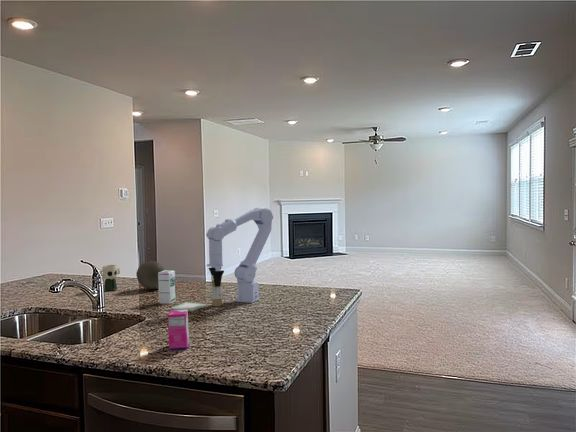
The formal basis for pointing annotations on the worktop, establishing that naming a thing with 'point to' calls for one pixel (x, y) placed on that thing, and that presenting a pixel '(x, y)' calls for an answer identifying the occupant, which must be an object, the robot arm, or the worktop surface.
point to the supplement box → (178, 329)
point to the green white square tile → (188, 306)
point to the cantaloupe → (149, 274)
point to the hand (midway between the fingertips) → (216, 284)
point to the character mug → (110, 276)
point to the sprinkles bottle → (216, 294)
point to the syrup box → (167, 287)
